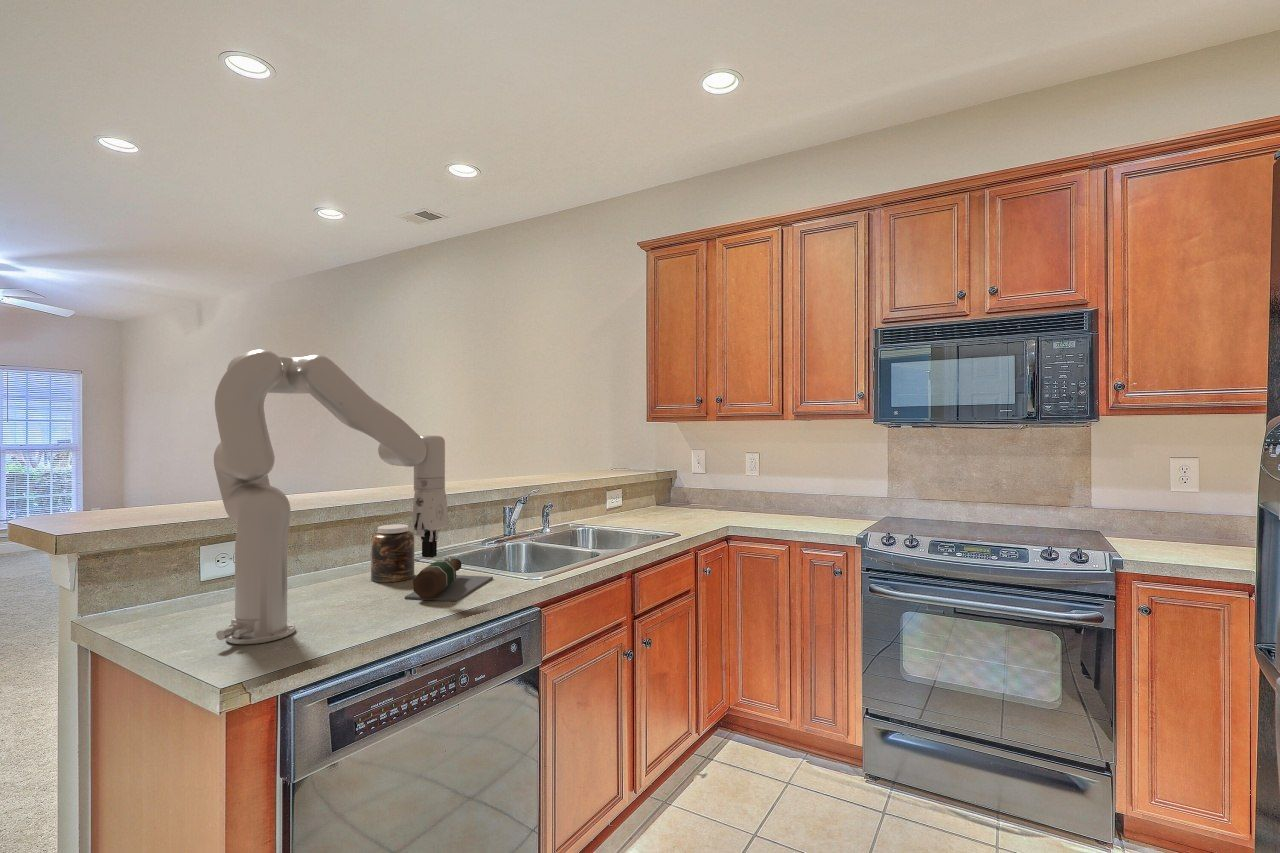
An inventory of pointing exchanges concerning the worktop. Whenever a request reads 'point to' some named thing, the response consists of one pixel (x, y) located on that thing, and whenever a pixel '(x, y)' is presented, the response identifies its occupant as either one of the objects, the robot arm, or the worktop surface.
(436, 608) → the worktop surface
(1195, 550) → the worktop surface
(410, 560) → the jar
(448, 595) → the mat
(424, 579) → the beer bottle
